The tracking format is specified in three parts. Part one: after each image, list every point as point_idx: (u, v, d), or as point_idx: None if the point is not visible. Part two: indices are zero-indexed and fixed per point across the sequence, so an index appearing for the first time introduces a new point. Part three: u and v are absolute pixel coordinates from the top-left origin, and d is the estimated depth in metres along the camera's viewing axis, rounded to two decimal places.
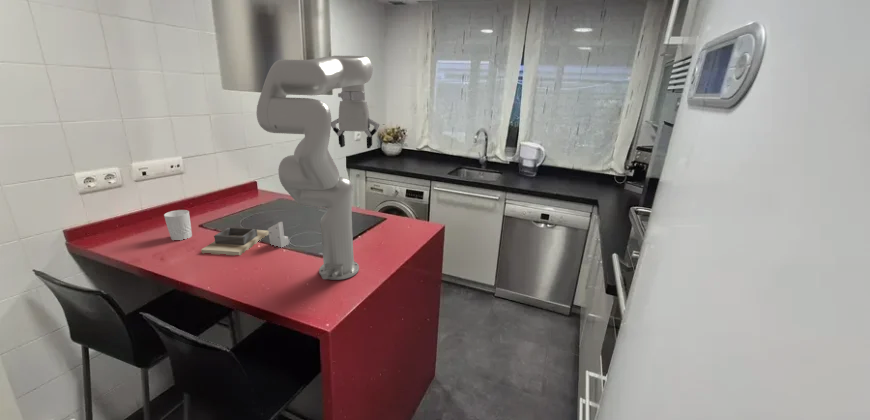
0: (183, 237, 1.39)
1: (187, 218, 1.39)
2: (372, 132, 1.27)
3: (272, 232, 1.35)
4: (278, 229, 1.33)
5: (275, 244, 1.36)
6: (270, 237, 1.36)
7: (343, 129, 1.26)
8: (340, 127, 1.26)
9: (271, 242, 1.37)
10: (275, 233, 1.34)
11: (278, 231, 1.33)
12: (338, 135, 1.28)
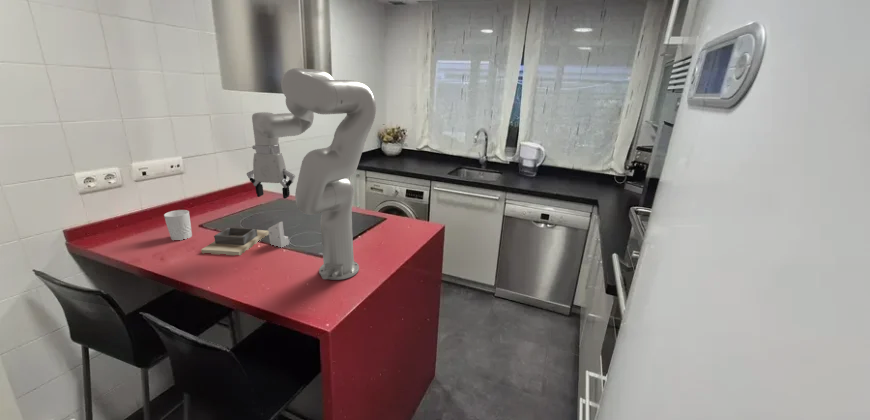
0: (183, 237, 1.39)
1: (187, 218, 1.39)
2: (288, 183, 1.29)
3: (272, 232, 1.35)
4: (278, 229, 1.33)
5: (275, 244, 1.36)
6: (270, 237, 1.36)
7: (258, 180, 1.28)
8: (255, 178, 1.28)
9: (271, 242, 1.37)
10: (276, 233, 1.34)
11: (278, 231, 1.33)
12: (254, 185, 1.30)
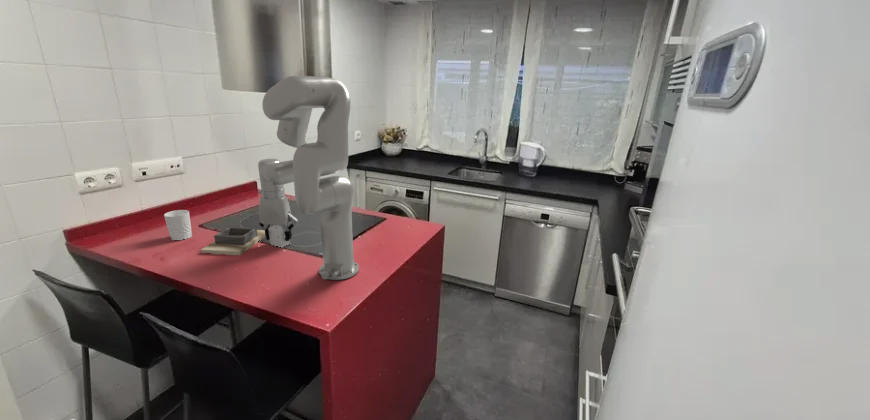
0: (183, 237, 1.39)
1: (187, 218, 1.39)
2: (290, 227, 1.34)
3: (272, 232, 1.35)
4: (278, 229, 1.33)
5: (275, 244, 1.36)
6: (270, 237, 1.36)
7: (264, 223, 1.33)
8: (261, 221, 1.33)
9: (271, 242, 1.37)
10: (275, 232, 1.34)
11: (278, 230, 1.33)
12: (264, 229, 1.35)
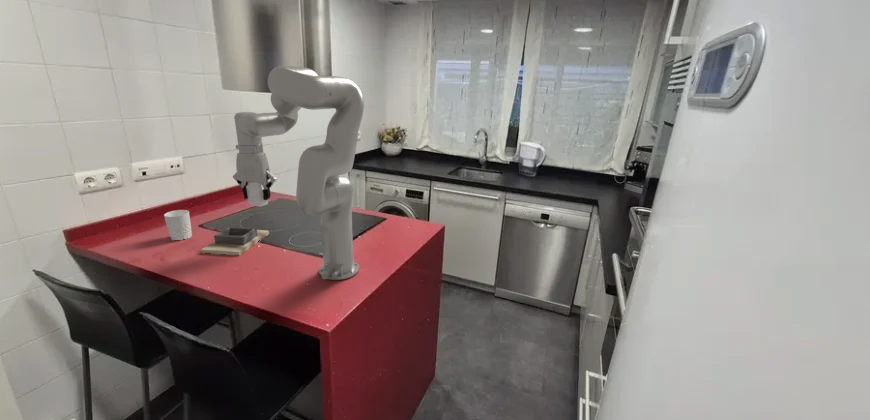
0: (183, 237, 1.39)
1: (187, 218, 1.39)
2: (268, 185, 1.29)
3: (250, 190, 1.30)
4: (256, 186, 1.28)
5: (253, 203, 1.31)
6: (248, 195, 1.31)
7: (241, 180, 1.28)
8: (238, 178, 1.28)
9: (249, 201, 1.32)
10: (253, 190, 1.29)
11: (256, 188, 1.28)
12: (242, 187, 1.30)
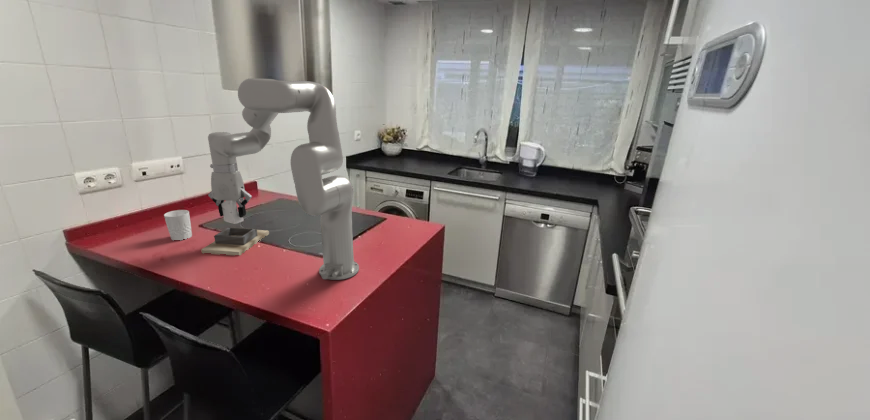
0: (183, 237, 1.39)
1: (187, 218, 1.39)
2: (243, 202, 1.32)
3: (225, 208, 1.32)
4: (231, 204, 1.31)
5: (229, 220, 1.34)
6: (224, 213, 1.34)
7: (216, 198, 1.30)
8: (213, 196, 1.30)
9: (225, 218, 1.34)
10: (228, 208, 1.32)
11: (231, 206, 1.31)
12: (217, 205, 1.33)
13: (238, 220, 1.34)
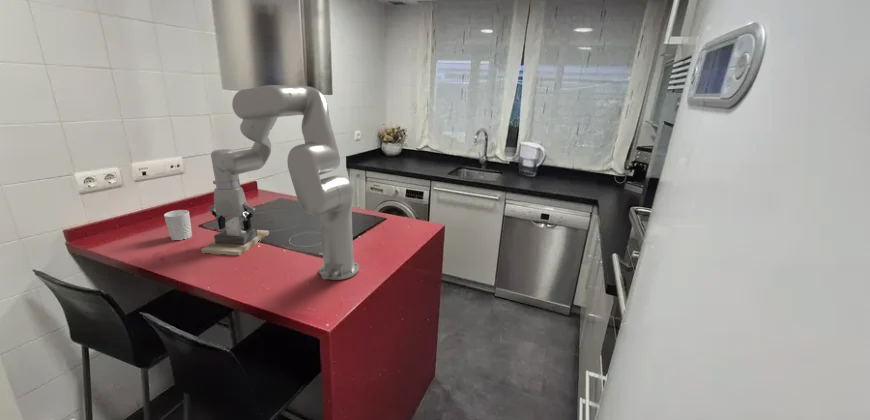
0: (183, 237, 1.39)
1: (187, 218, 1.39)
2: (248, 216, 1.33)
3: (229, 227, 1.35)
4: (234, 224, 1.33)
5: None
6: (227, 232, 1.36)
7: (219, 214, 1.32)
8: (216, 212, 1.32)
9: None
10: (232, 227, 1.34)
11: (234, 225, 1.33)
12: (216, 218, 1.34)
13: None
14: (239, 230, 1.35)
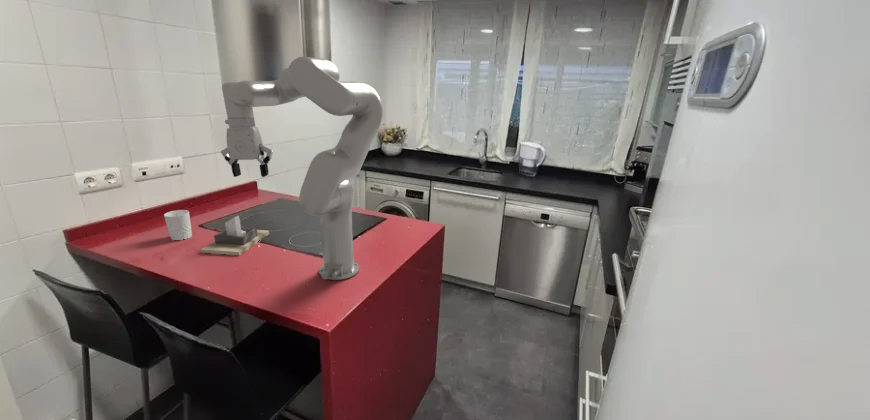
0: (183, 237, 1.39)
1: (187, 218, 1.39)
2: (265, 159, 1.18)
3: (229, 227, 1.35)
4: (234, 224, 1.33)
5: None
6: (227, 232, 1.36)
7: (233, 158, 1.17)
8: (230, 156, 1.17)
9: None
10: (232, 227, 1.34)
11: (234, 225, 1.33)
12: (230, 164, 1.20)
13: None
14: (239, 230, 1.35)
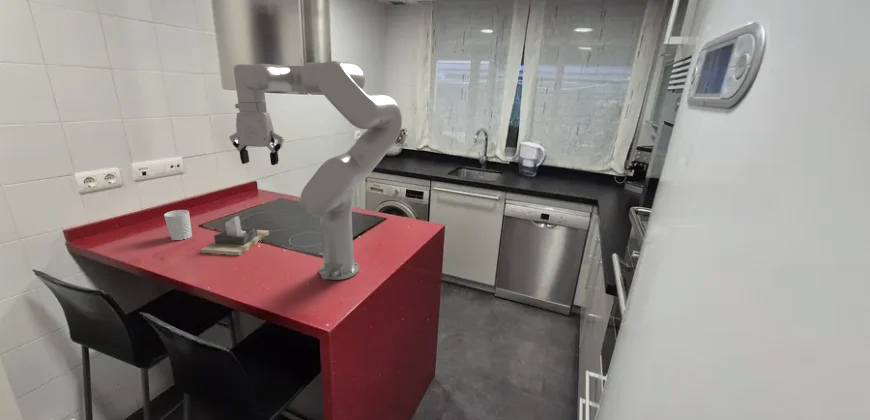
0: (183, 237, 1.39)
1: (187, 218, 1.39)
2: (276, 147, 1.14)
3: (229, 227, 1.35)
4: (234, 224, 1.33)
5: None
6: (227, 232, 1.36)
7: (242, 144, 1.12)
8: (239, 142, 1.12)
9: None
10: (232, 227, 1.34)
11: (234, 225, 1.33)
12: (239, 150, 1.15)
13: None
14: (239, 230, 1.35)
